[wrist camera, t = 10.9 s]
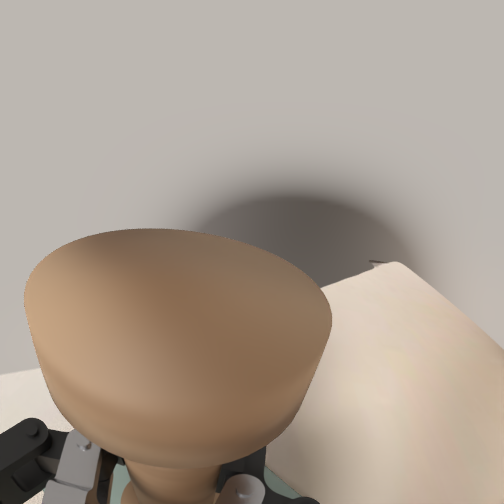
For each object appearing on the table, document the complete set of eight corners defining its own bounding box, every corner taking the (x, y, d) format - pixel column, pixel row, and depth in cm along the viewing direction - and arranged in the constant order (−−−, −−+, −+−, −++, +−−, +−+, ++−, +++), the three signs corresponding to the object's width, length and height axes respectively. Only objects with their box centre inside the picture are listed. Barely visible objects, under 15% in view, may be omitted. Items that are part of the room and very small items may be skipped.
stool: (188, 455, 15) (212, 222, 10) (257, 524, 11) (383, 312, 6) (100, 490, 11) (19, 241, 6) (163, 576, 7) (72, 471, 2)
